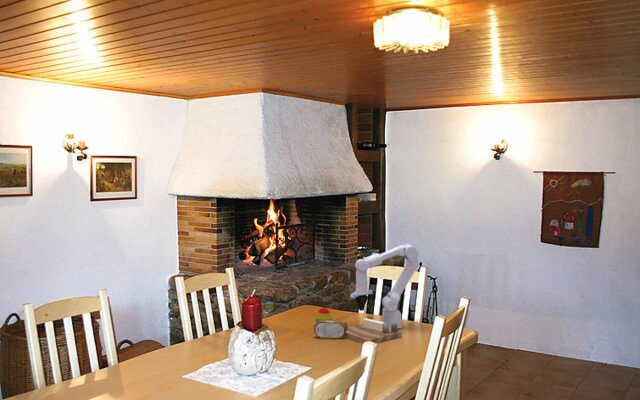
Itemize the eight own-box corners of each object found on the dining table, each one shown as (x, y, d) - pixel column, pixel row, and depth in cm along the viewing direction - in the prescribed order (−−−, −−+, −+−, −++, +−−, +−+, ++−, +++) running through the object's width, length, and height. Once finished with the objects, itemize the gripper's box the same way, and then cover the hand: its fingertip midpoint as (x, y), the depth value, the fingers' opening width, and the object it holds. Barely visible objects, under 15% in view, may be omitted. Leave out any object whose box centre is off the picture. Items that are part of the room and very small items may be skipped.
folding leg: (390, 332, 281) (390, 323, 280) (386, 333, 278) (386, 324, 278) (366, 326, 291) (366, 318, 291) (362, 327, 289) (362, 319, 288)
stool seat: (369, 327, 299) (369, 315, 299) (401, 337, 282) (401, 324, 282) (336, 334, 285) (337, 322, 285) (368, 345, 268) (368, 332, 268)
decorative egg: (312, 327, 298) (312, 308, 298) (321, 324, 305) (321, 305, 305) (326, 330, 294) (326, 310, 293) (334, 326, 301) (334, 307, 300)
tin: (345, 337, 281) (346, 320, 280) (345, 339, 278) (345, 322, 277) (314, 336, 282) (314, 319, 282) (313, 338, 279) (313, 321, 279)
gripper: (365, 280, 303) (365, 306, 304) (345, 284, 293) (345, 311, 294) (375, 282, 298) (375, 308, 299) (356, 286, 288) (356, 313, 289)
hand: (361, 310), depth 296 cm, fingers closed
